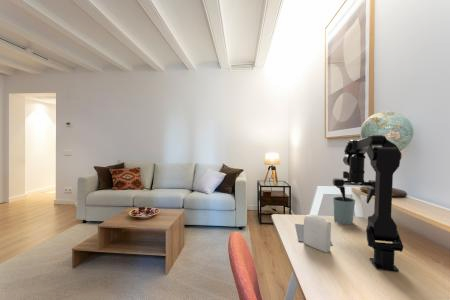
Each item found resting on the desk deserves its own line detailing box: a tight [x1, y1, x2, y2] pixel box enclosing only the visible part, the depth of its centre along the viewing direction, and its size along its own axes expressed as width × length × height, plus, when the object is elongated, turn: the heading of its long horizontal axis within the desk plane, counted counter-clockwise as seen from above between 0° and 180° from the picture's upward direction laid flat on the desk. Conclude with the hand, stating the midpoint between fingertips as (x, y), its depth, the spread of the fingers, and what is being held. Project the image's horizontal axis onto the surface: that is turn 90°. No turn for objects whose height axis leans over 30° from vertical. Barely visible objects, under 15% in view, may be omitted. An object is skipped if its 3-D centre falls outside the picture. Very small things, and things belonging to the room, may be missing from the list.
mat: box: [294, 223, 334, 247], centre depth 101 cm, size 20×13×1 cm, turn 166°
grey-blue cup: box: [332, 196, 356, 226], centre depth 117 cm, size 10×10×12 cm
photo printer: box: [303, 214, 332, 253], centre depth 88 cm, size 10×4×12 cm, turn 39°
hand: (355, 202), depth 101 cm, fingers open, 9 cm apart
